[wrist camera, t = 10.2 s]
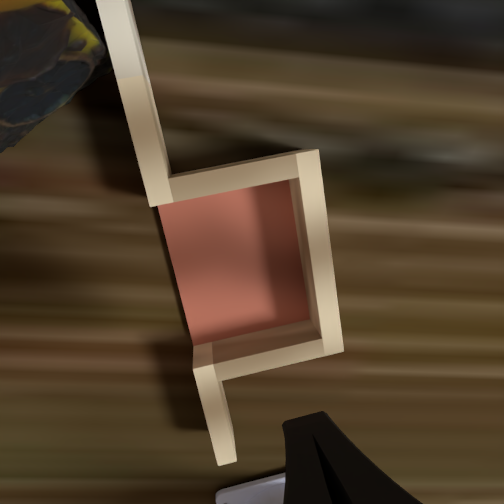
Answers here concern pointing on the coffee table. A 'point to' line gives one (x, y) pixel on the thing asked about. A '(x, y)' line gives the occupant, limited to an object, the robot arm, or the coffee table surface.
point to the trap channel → (233, 245)
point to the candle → (44, 61)
